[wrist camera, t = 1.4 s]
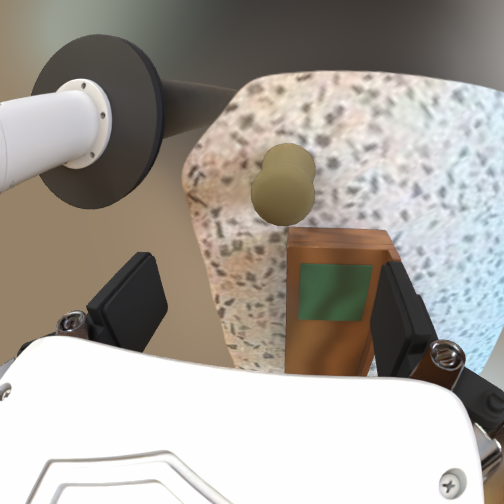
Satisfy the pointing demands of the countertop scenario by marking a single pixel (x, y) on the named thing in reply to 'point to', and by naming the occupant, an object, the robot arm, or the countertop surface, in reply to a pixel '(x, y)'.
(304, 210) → the cork
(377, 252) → the wooden shelf
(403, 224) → the countertop surface
